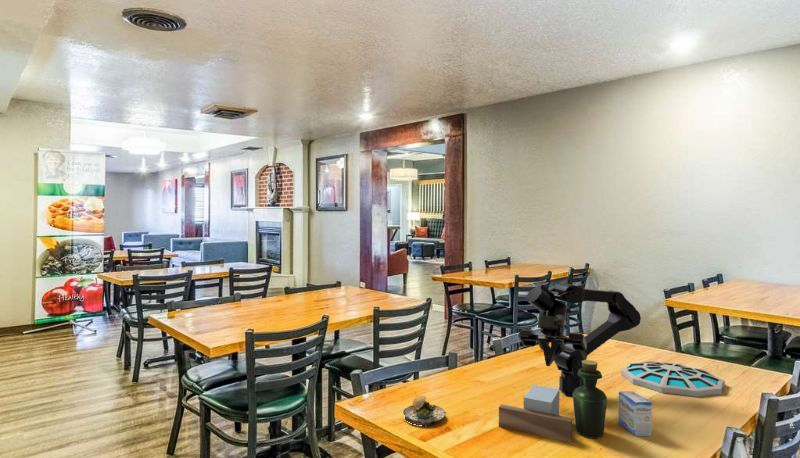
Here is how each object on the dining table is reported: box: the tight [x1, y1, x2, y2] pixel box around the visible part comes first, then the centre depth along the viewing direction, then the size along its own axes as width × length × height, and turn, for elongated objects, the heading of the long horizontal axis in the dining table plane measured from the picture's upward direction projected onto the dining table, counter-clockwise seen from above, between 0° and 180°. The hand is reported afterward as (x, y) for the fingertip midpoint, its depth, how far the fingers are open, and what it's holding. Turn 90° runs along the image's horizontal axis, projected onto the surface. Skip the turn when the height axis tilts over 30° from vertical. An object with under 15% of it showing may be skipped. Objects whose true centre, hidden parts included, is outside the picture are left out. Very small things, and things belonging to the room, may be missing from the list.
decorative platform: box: [620, 360, 726, 398], centre depth 156 cm, size 31×29×5 cm
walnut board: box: [498, 404, 574, 443], centre depth 117 cm, size 2×18×5 cm, turn 60°
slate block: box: [523, 384, 561, 415], centre depth 122 cm, size 11×7×8 cm, turn 150°
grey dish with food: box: [402, 392, 447, 427], centre depth 126 cm, size 12×12×8 cm
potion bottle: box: [572, 359, 608, 439], centre depth 116 cm, size 8×8×18 cm
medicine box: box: [617, 390, 653, 437], centre depth 118 cm, size 8×4×9 cm, turn 5°
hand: (547, 365), depth 131 cm, fingers closed
